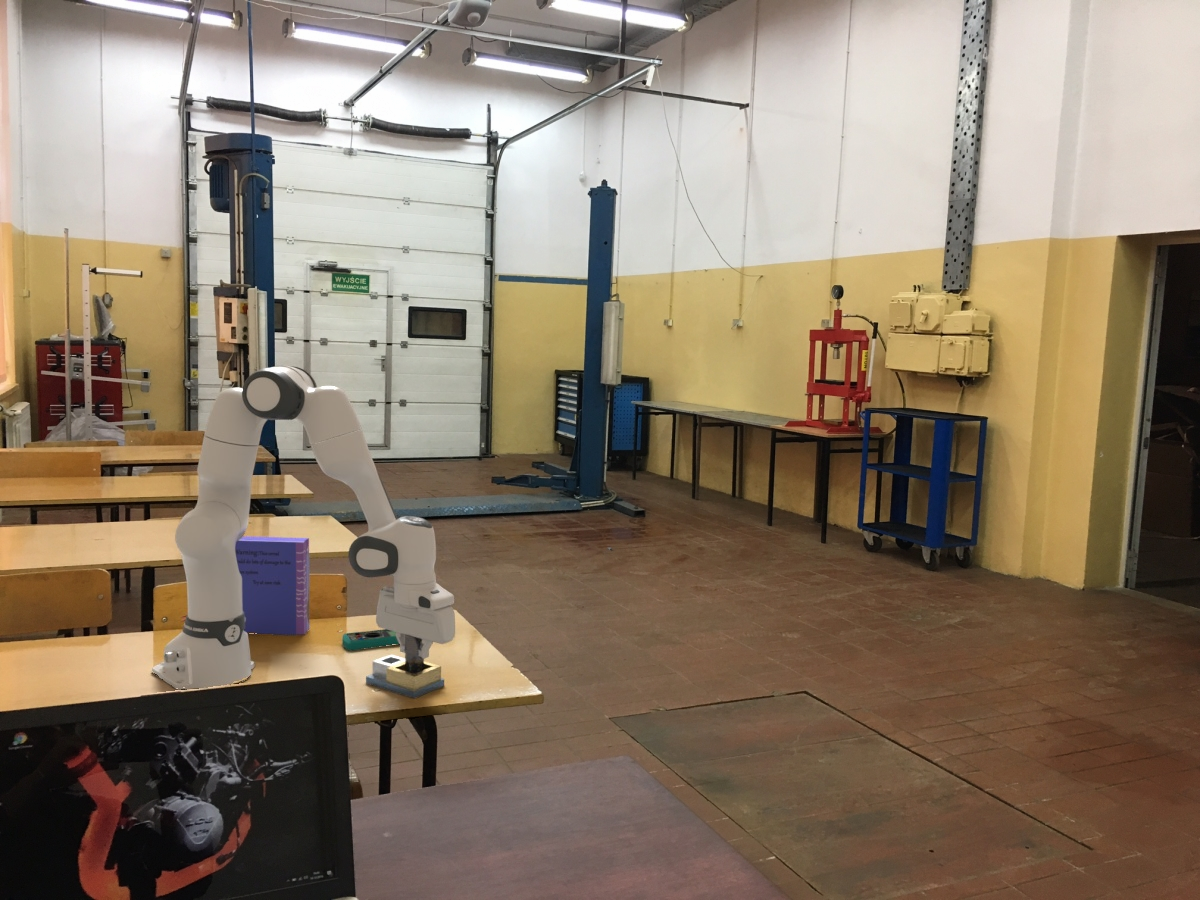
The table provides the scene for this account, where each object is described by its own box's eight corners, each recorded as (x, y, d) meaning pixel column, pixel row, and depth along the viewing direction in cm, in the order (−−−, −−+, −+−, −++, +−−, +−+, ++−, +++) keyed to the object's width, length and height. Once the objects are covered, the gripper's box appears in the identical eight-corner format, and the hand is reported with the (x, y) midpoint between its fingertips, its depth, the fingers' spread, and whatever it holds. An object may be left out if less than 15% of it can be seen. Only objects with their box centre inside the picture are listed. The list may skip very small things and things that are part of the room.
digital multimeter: (340, 643, 235) (340, 632, 235) (400, 637, 242) (400, 625, 241) (346, 653, 228) (346, 641, 228) (407, 646, 235) (407, 634, 235)
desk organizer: (366, 683, 208) (366, 663, 208) (396, 671, 216) (396, 652, 216) (414, 698, 201) (414, 677, 200) (444, 685, 208) (444, 665, 208)
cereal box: (309, 629, 244) (309, 537, 241) (304, 635, 239) (303, 541, 236) (240, 627, 243) (239, 535, 240) (233, 633, 239) (232, 539, 236)
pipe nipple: (401, 674, 206) (401, 634, 205) (414, 669, 210) (414, 629, 208) (414, 678, 204) (415, 637, 203) (427, 673, 207) (428, 633, 206)
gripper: (369, 587, 207) (369, 648, 209) (439, 604, 196) (439, 668, 198) (390, 581, 213) (390, 641, 214) (460, 597, 202) (459, 660, 203)
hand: (414, 654), depth 206 cm, fingers closed on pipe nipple, 4 cm apart
